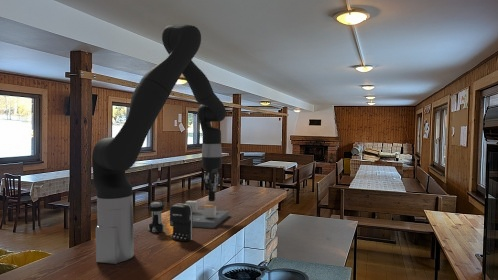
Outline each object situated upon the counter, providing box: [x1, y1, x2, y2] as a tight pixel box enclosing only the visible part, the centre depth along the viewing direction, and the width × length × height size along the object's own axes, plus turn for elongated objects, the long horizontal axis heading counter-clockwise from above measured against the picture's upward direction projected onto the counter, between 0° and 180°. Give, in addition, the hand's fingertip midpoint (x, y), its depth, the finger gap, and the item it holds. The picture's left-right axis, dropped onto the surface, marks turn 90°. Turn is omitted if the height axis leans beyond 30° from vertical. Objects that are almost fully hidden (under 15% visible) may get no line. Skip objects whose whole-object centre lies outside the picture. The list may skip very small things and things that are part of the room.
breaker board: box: [169, 200, 230, 229], centre depth 137 cm, size 18×17×6 cm
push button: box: [147, 201, 165, 234], centre depth 123 cm, size 7×5×10 cm
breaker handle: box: [203, 204, 217, 218], centre depth 133 cm, size 2×4×4 cm, turn 75°
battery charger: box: [169, 203, 193, 242], centre depth 113 cm, size 7×4×11 cm, turn 64°
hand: (211, 200), depth 136 cm, fingers closed
